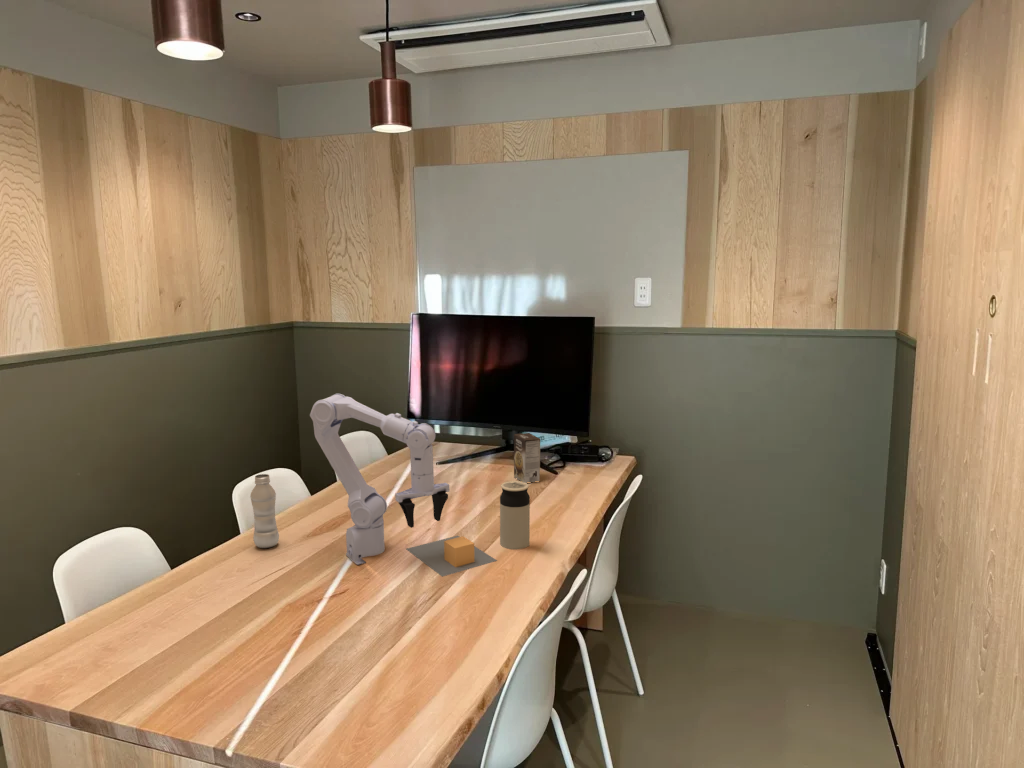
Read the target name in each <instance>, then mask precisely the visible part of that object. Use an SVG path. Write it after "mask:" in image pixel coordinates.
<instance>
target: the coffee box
mask: <svg viewBox="0 0 1024 768" xmlns="http://www.w3.org/2000/svg"><path fill="white" fill-rule="evenodd" d="M540 468H541V437H537V436H536V435H534V434H532V433H531V432H525V433H524V432H522V433H514V434H513V478H514V479H516V478H517V479H516V480H517V481H519V480H520V481H522V482H525V483H527V482H535V481H540V479H541V478H540V476H541V474H540V473H541V472H540V471H541V469H540ZM540 482H541V481H540Z"/></svg>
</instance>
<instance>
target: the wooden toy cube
mask: <svg viewBox="0 0 1024 768" xmlns="http://www.w3.org/2000/svg"><path fill="white" fill-rule="evenodd" d="M474 546H475V542H473V541H471V540H470V539H469V538H466V537H465V536H464V535H462V536H459V537H458V538H454V539H450V540H446V541H444V559H445V560H446V561H447V562H449V563H450V564H452V565H453V566H454V567H458V566H461V565H465V564H469V563H472V562H474Z"/></svg>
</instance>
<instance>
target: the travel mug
mask: <svg viewBox="0 0 1024 768" xmlns="http://www.w3.org/2000/svg"><path fill="white" fill-rule="evenodd" d="M500 487H501V489H502V492H501V494H500V496H499V524H500V525H499V544H500V546H501V548H504V549H508V550H522V549H526V548H527V547H530V529H531V527H530V525H531V524H530V523H531V521H530V518H531V517H530V513H531V512H530V509H531V507H530V506H531V504H530V502H531V501H530V500H531V499H530V498H531V496H530V494H529V493H528V489H529V487H530V485H529V484H527V483H525V482H521V481H519V480H510V481H508V480H507V481H505V482H503V483H502V484H501V485H500Z"/></svg>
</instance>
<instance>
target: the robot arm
mask: <svg viewBox="0 0 1024 768" xmlns="http://www.w3.org/2000/svg"><path fill="white" fill-rule="evenodd" d="M309 417H310V418H311V420H312V423H313V424H312V425H313V432H314V437H315V440H316V441H317V443H318V445H319V446H320V448H321V450H322V452H323V454H324V455H325V458H327V460H328V462H329V465H330V466H331V468H332V469H333V471H334V473H335V474H336V476H337V478H338V479H339V481H340V482H341V483H340V484H342V487H343V488H344V490H345V491H346V493H347V495H348V498H347V508H348V509H349V511H350V512H349V513H350V519H351V521H352V523H353V524H354V525H353V526H350V527H348V528H346V531H345V532H346V533H345V540H346V541H345V542H346V553H345V556H347V558H349V559H350V560H351V561H352V562H353V563H354V564H356V565H358V566H359V565H363V564H367V562H366V560H364V559H363V558H366V557H373V556H378V555H380V554H382V553H383V552H385V550H386V549H385V527H384V524H385V523H384V522H385V521H384V515H385V514H386V512H387V509H388V503H387V500H386V499H385V498H384V497H383V495H381V494H379V492H378V491H377V489H375V487H373V486H372V485H369V484H368V483H367V482H366V480H365V479H364V477H363V475H362V473H361V471H360V469H359V468H358V466H357V464H356V462H355V461H354V459H353V458H352V456H351V454H350V452H349V450H348V449H347V446H346V445H345V443H344V442H343V441H342V438H341V436H340V435H339V431H340V428H341V424H342V422H343V420H347V419H350V418H351V419H355V420H358V421H361V422H363V423H366V424H369V425H372V426H375V427H377V428H380V431H381V432H382V433H383V435H384V436H387V437H390V438H393V439H394V440H396V441H399V442H401V443H404V444H406V445H407V447H408V449H409V450H410V451H409V452H410V454H409V455H410V481H411V482H410V484H411V487H410V488H408V489H404V490H403V491H399V492H396V493H395V495H394V496H395V501H396V502H397V503H398V504H399V506H400V508H401V509H402V512H403V513H404V516H405V520H406V523H407V526H408V527H409V528H414V527H415V523H414V522H415V520H414V519H415V518H414V517H415V516H414V515H415V514H414V512H415V507H416V503H414V502H413V499H417V498H421V497H429V496H431V500H432V509H433V513H432V514H433V519H434V520H435V521H437V522H440V521H441V518H442V513H443V510H444V507H445V505H446V503H447V501H448V499H449V494H448V492H449V493H450V492H451V491H450V484H449V483H447V482H442V483H435V480H434V479H435V477H434V476H435V475H434V474H435V473H434V471H435V470H434V453H433V452H434V451H433V450H434V449H433V448H434V447H433V443H434V442H435V440H436V431H435V429H434V428H433V427H432V426H431V425H430V424H428V423H425V422H424V423H420V424H419V422H418V421H416V420H414V421H411V420H409V419H408V418H405V417H402V414H401V413H398V412H396V413H389V414H387V415H385V414H384V413H382V412H379V411H377V410H376V409H373V408H371V407H369V406H367V405H364V404H363V403H361V402H358V401H356V400H355V399H354V398H353V397H350V396H347V395H346V396H345V395H344V394H341V393H335V394H332V395H330V396H329V397H326V398H323V399H319V400H317V401H316V402H314V404H313V405H312V408H311V411H310V413H309Z"/></svg>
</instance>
